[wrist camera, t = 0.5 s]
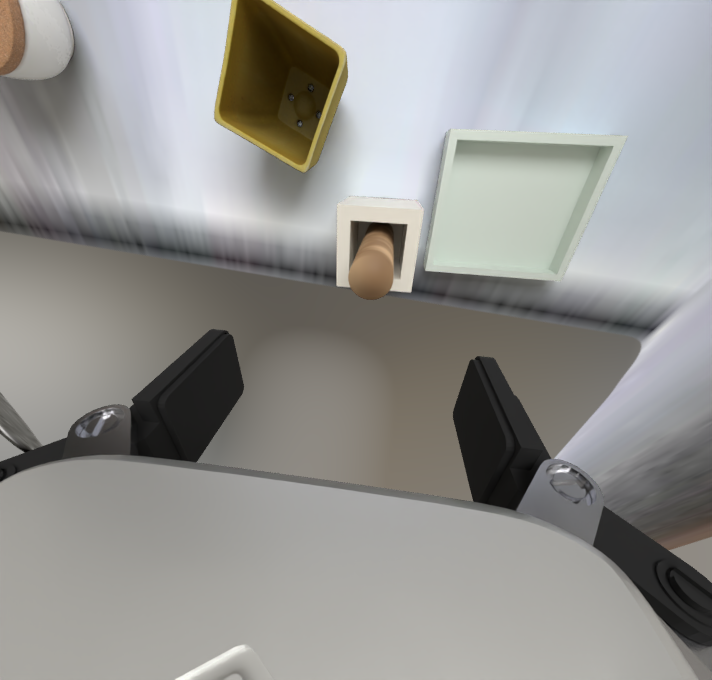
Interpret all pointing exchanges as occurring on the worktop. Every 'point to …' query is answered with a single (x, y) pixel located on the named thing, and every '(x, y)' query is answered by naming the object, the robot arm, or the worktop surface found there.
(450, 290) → the worktop surface
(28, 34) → the lidded jar
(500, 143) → the tray
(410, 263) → the white square holder
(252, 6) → the flower pot
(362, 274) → the dowel
